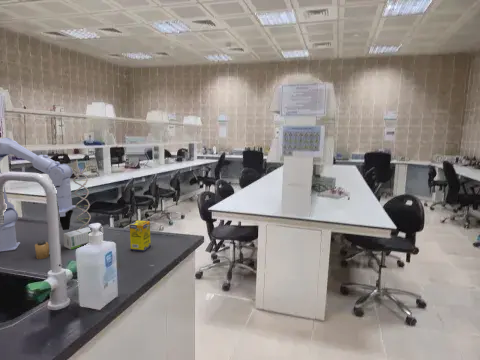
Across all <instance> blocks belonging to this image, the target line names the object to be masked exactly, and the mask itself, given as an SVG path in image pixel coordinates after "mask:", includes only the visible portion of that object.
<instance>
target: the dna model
mask: <svg viewBox="0 0 480 360" xmlns="http://www.w3.org/2000/svg"><path fill="white" fill-rule="evenodd" d="M72 170H73V171H75V172H76V173H78V174H77V175H76V176H75V177H73V179H72V181H73V183H74V184H76V185H78V186H79V188H77V189H76V190H75V191H74V195H75V196H76V197H78V198H80V201H78V202H77V203H76V204H75V206H76V208H77V209H79V210H81V211H82V212H81V213H80V214H78V215H77V216H76V220H77V221H80V222H82V223H83V225H82V226H80V227H79V228H78V229H77V230H79V229H82V228H85V226H86V225H87V226H88V225H90V223H89V222H90V221H91V219H92V216H91V214H90V213H89V211H88V210H89V209H90V206H91V204H90V201H89V200H88V199H86V198H87V197H88V196H89V195H90V191H89V189H88V188H87V187H86V185H87V183H88V181H89V178H88V177H87V175H85V174H84V173H85V172H86V170H87V167H85V168H84V170H82V171H80V170H77V169H75V168H74V167H72ZM81 175H82V176H83V177H84V178H85V179H81V180H80V179H79V180H78V179H77V178H78V177H79V176H81ZM76 179H77V180H76ZM80 182H84V183H83V184H82V183H80ZM81 188H84V190H86V192H81V193H79V192H78V191H79V190H80V189H81ZM82 194H83V195H85V194H86V195H85V196H84V197H83V196H81V195H82ZM83 201H86V203H87V204H88V205H85V207H87V208H86V209H84V208H81V207H80V205H79V204H81V202H83ZM84 213H86V214H88V216H89V217H86V218H83V217H82V218H80V217H81V216H82V215H83V214H84ZM86 219H87V222H86V221H84V220H86Z"/></svg>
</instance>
